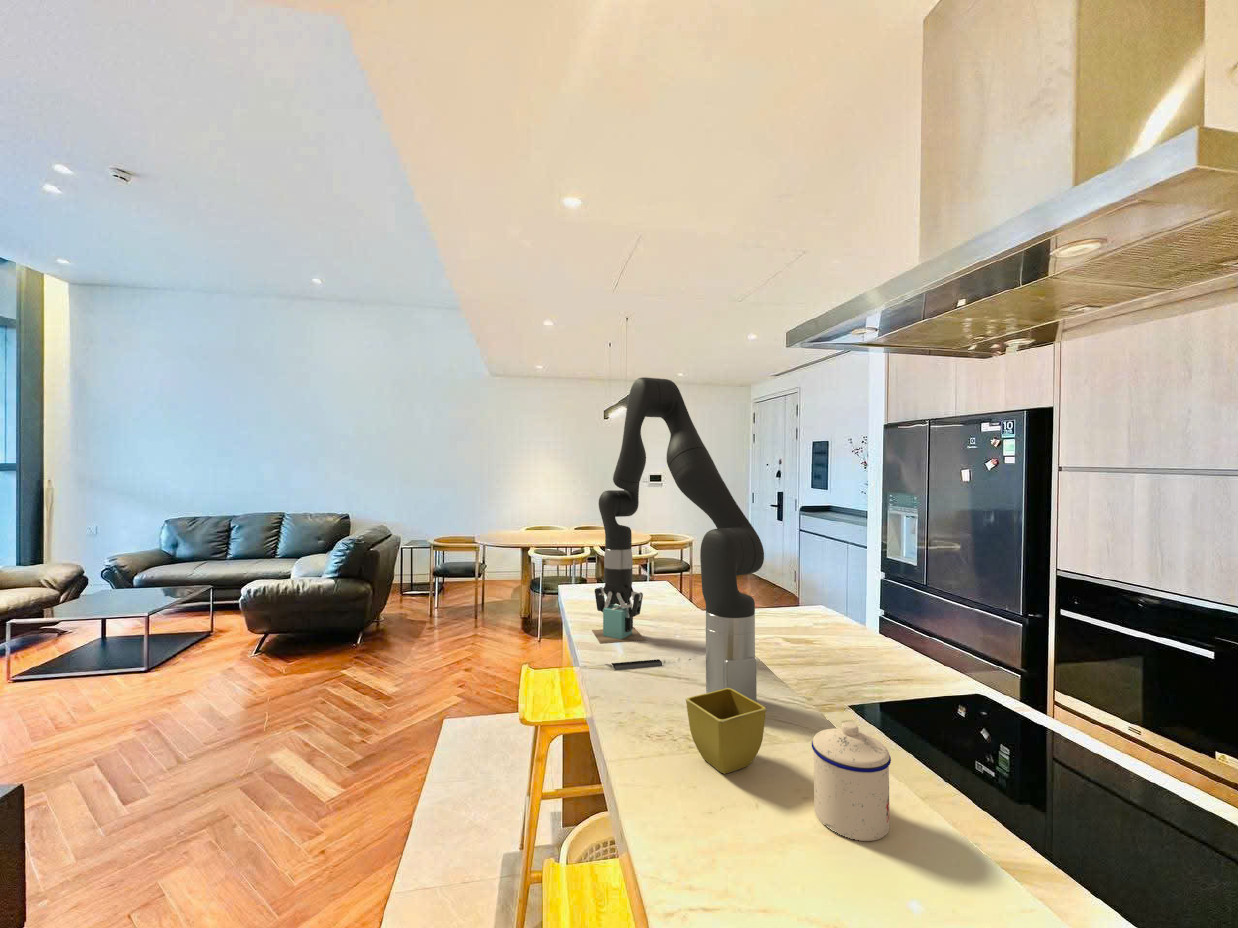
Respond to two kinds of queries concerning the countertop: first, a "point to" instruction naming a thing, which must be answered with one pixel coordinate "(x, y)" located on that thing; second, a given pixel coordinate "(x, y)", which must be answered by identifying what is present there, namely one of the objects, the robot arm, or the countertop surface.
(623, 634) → the striped teal box
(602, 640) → the post base
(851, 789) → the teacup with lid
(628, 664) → the mat
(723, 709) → the flower pot
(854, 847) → the countertop surface
